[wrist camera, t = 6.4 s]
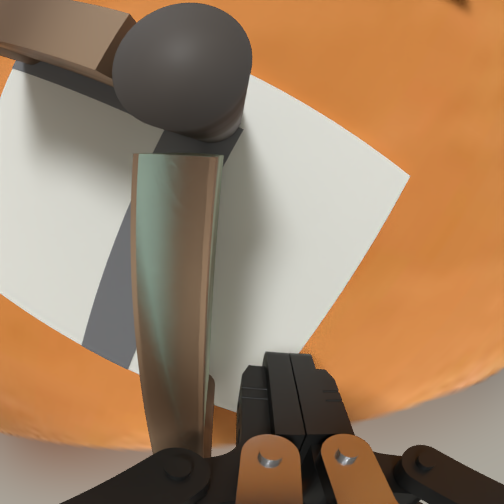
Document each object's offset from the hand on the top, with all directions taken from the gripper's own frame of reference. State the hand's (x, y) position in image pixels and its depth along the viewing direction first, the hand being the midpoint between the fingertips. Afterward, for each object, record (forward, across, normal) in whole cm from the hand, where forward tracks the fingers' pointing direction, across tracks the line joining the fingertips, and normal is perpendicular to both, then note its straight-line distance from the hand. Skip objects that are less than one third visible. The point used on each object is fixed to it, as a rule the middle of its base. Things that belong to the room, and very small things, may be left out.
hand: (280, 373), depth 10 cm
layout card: (+4, +6, -4) cm, 8 cm away
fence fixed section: (+3, +7, -10) cm, 13 cm away
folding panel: (+3, +3, -1) cm, 4 cm away
